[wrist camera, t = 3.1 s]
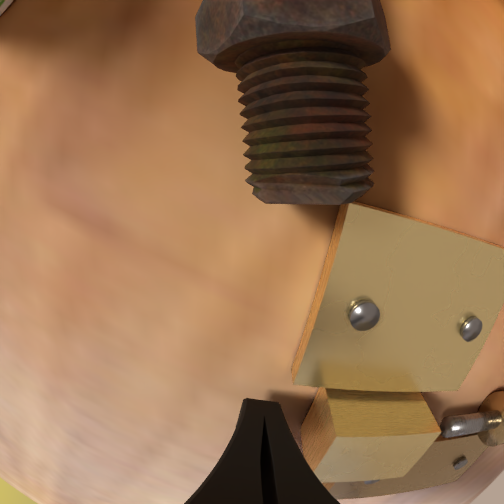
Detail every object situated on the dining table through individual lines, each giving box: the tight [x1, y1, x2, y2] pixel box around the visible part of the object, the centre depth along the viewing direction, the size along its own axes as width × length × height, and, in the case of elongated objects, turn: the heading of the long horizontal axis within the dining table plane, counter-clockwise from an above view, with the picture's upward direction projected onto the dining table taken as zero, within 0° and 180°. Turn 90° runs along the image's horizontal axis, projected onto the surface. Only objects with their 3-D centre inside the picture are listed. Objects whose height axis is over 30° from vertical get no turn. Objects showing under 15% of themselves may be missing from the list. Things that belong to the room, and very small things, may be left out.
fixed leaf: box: [322, 391, 504, 499], centre depth 12 cm, size 9×12×3 cm
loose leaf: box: [291, 201, 504, 482], centre depth 10 cm, size 10×8×3 cm
